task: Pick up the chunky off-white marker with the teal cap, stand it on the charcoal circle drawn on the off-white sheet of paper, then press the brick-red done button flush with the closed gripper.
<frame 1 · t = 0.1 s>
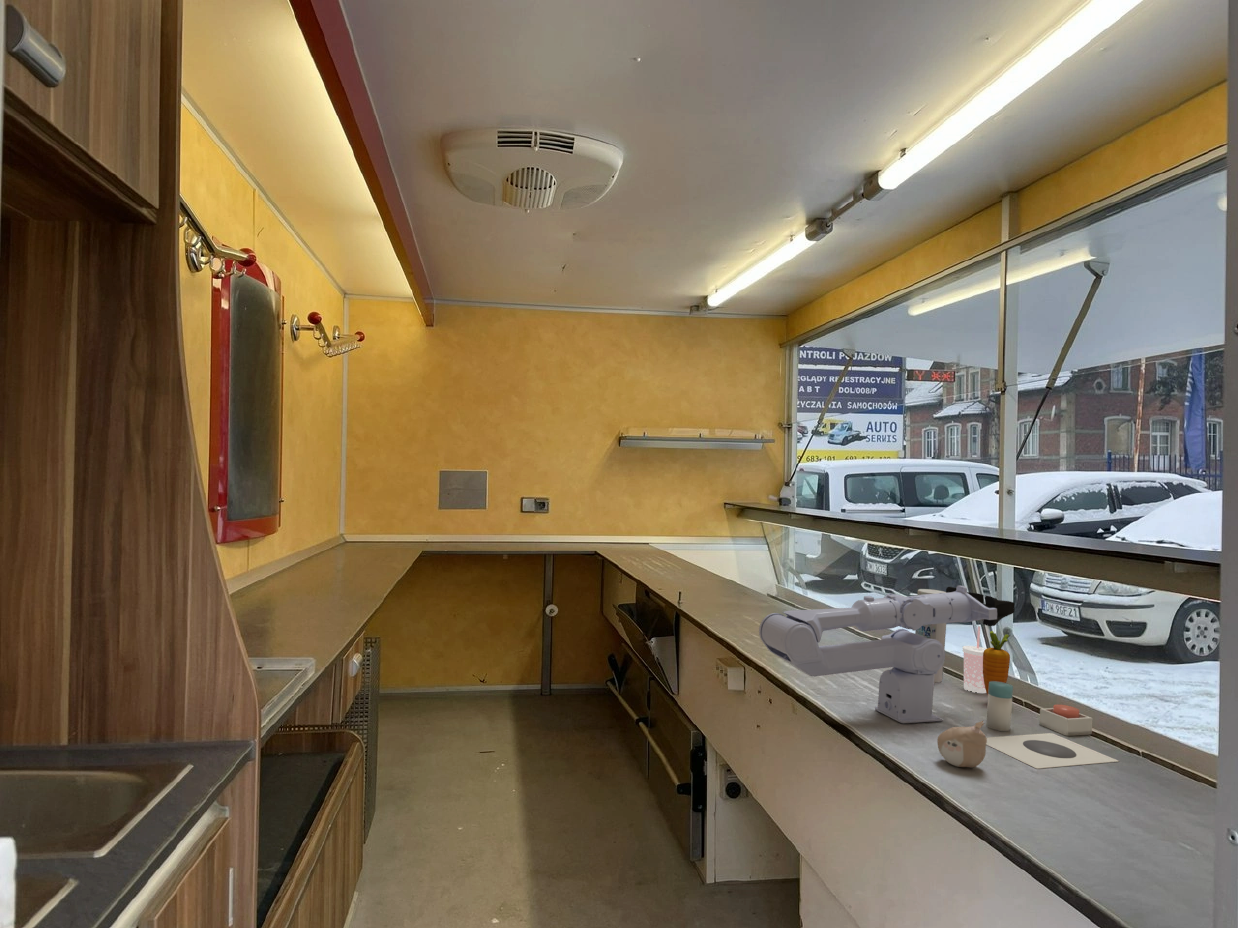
hand: (997, 603, 148), 22 cm above the worktop, tool horizontal, fingers open, 7 cm apart
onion: (960, 766, 119), on the worktop
spray can: (927, 679, 171), on the worktop
carrot: (993, 704, 154), on the worktop
done button: (1066, 713, 140), point 3 cm above the worktop, slide at 0.0 cm
marker: (998, 727, 139), on the worktop
beverage cup: (975, 690, 164), on the worktop
button housing: (1065, 729, 140), on the worktop
paper sheet: (1044, 749, 128), on the worktop
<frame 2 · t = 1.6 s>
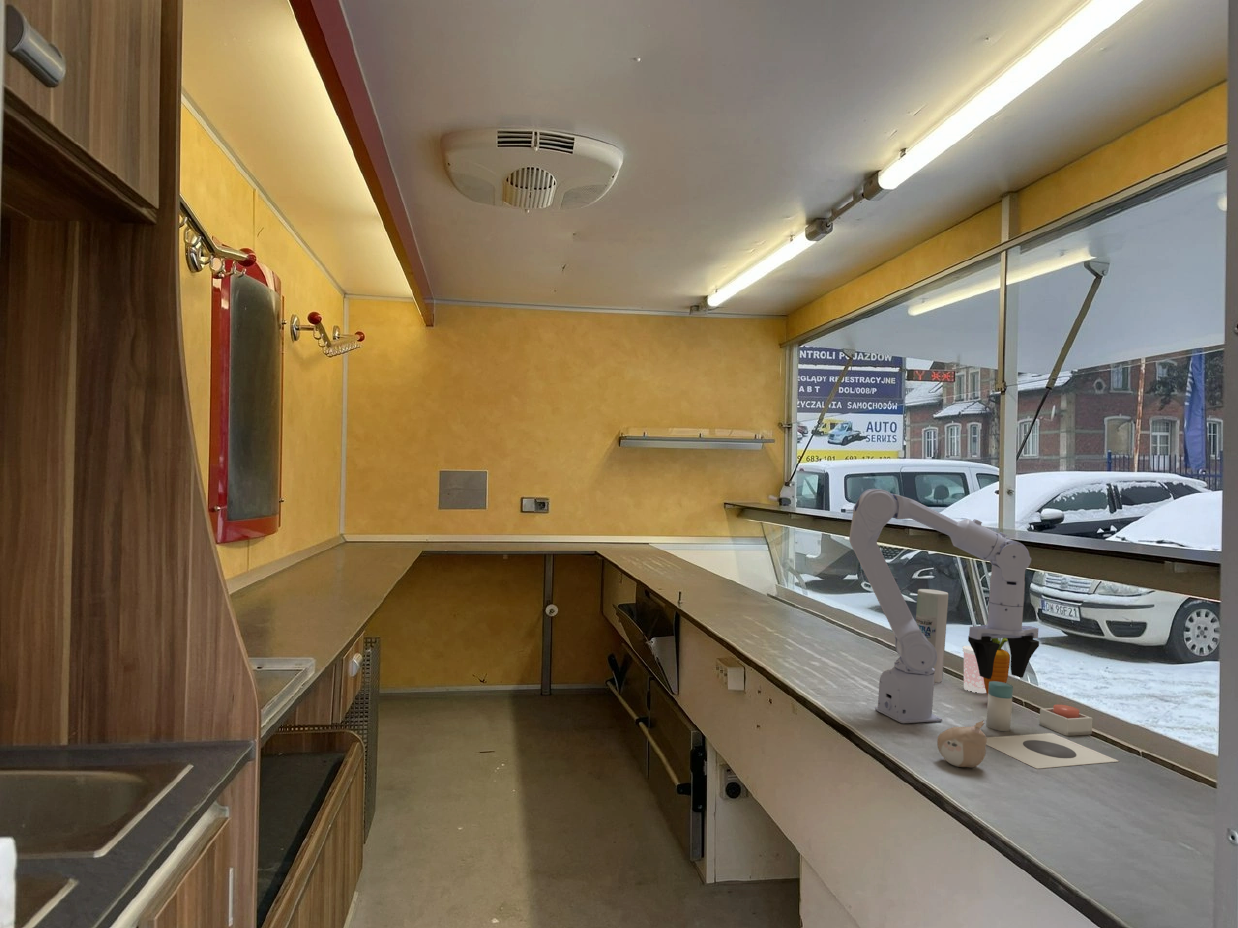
hand: (1001, 676, 139), 9 cm above the worktop, tool pointing down, fingers open, 7 cm apart
nothing on the worktop moved.
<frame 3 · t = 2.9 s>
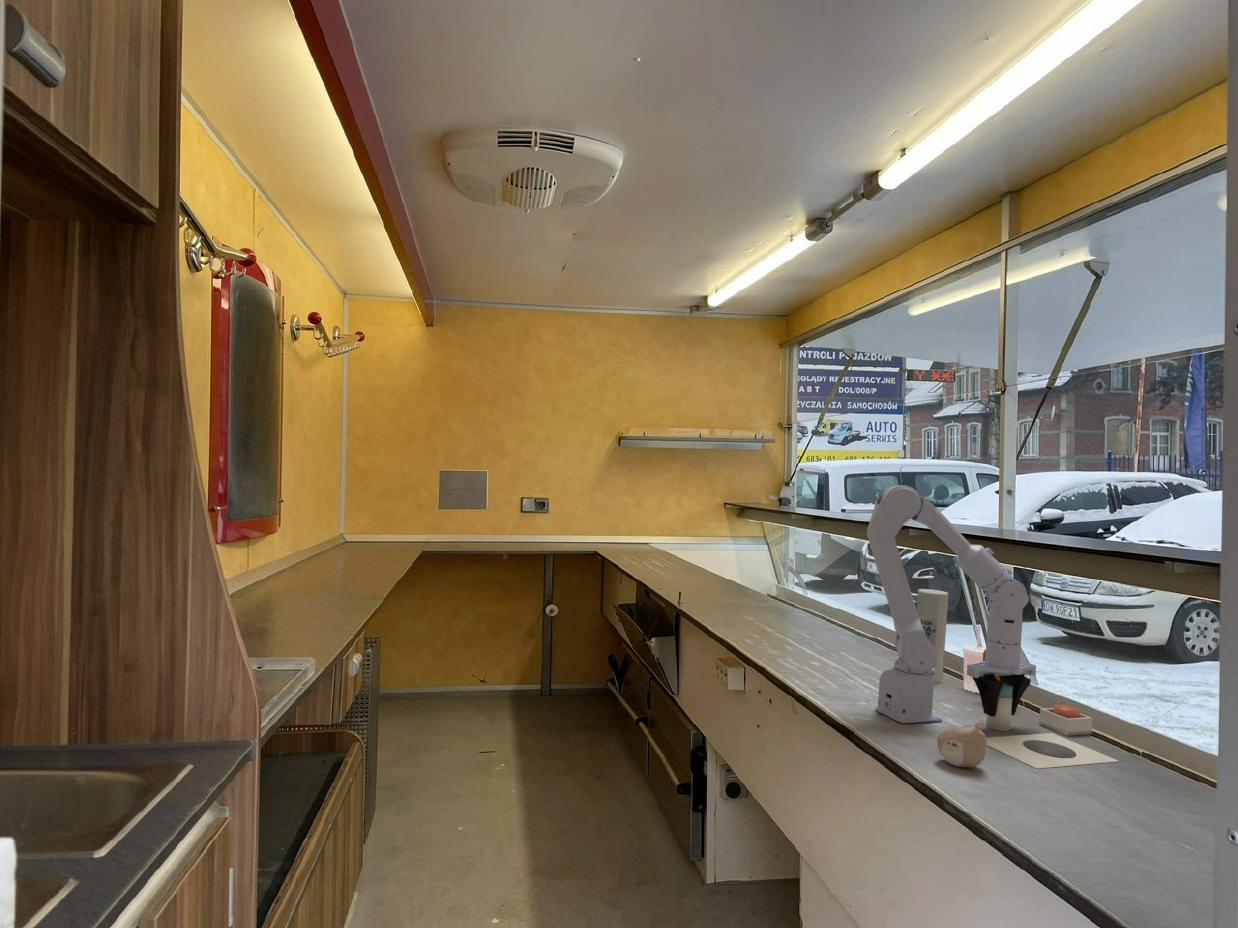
hand: (999, 714, 139), 2 cm above the worktop, tool pointing down, fingers closed on marker, 4 cm apart
marker: (998, 727, 139), on the worktop, touching gripper
everything else where it was.
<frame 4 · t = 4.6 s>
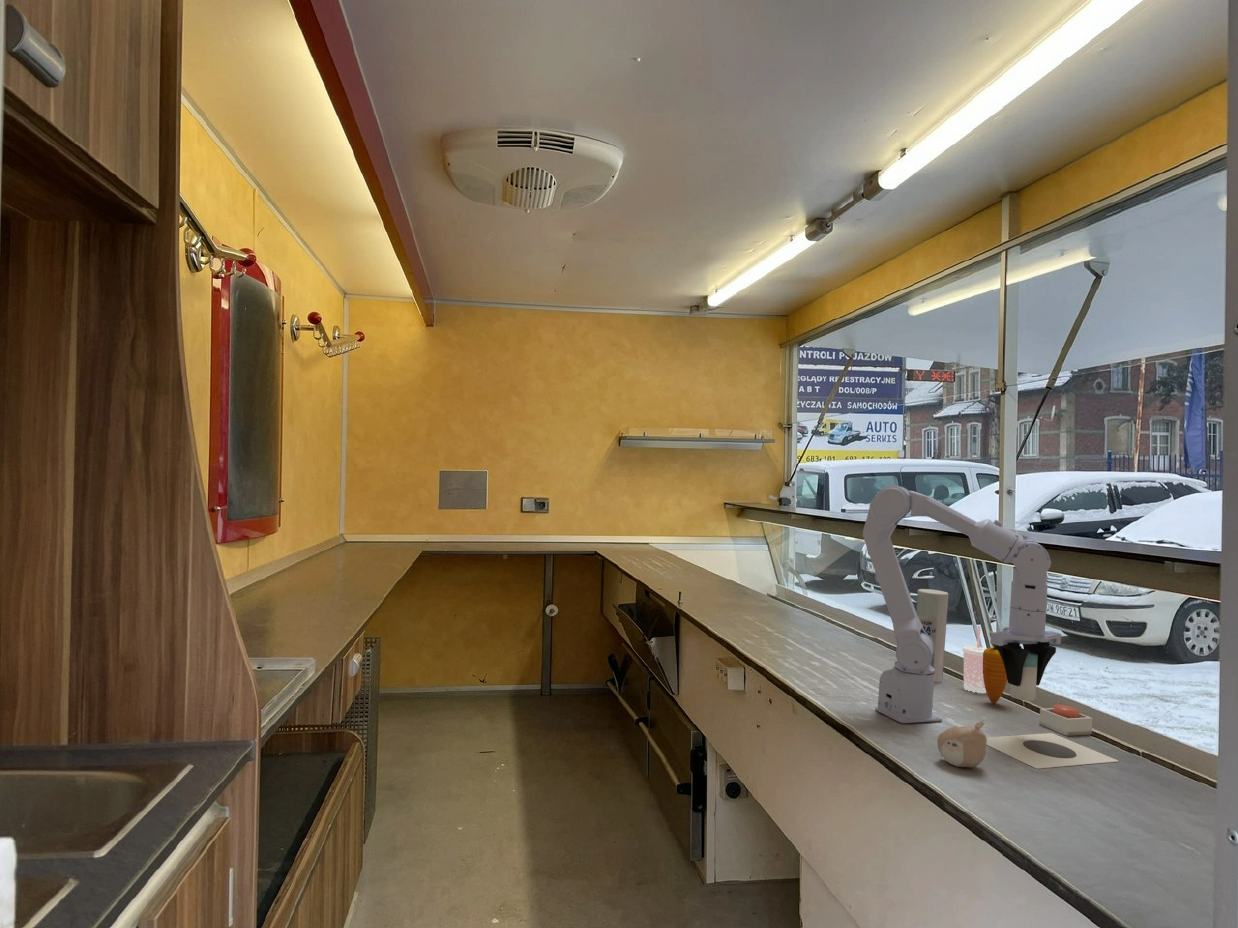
hand: (1023, 684, 134), 9 cm above the worktop, tool pointing down, fingers closed on marker, 4 cm apart
marker: (1022, 697, 134), point 7 cm above the worktop, touching gripper
everything else where it was.
when the fingers open (3 cm above the worktop, at t = 6.6 s): marker stays where it is, resting on paper sheet.
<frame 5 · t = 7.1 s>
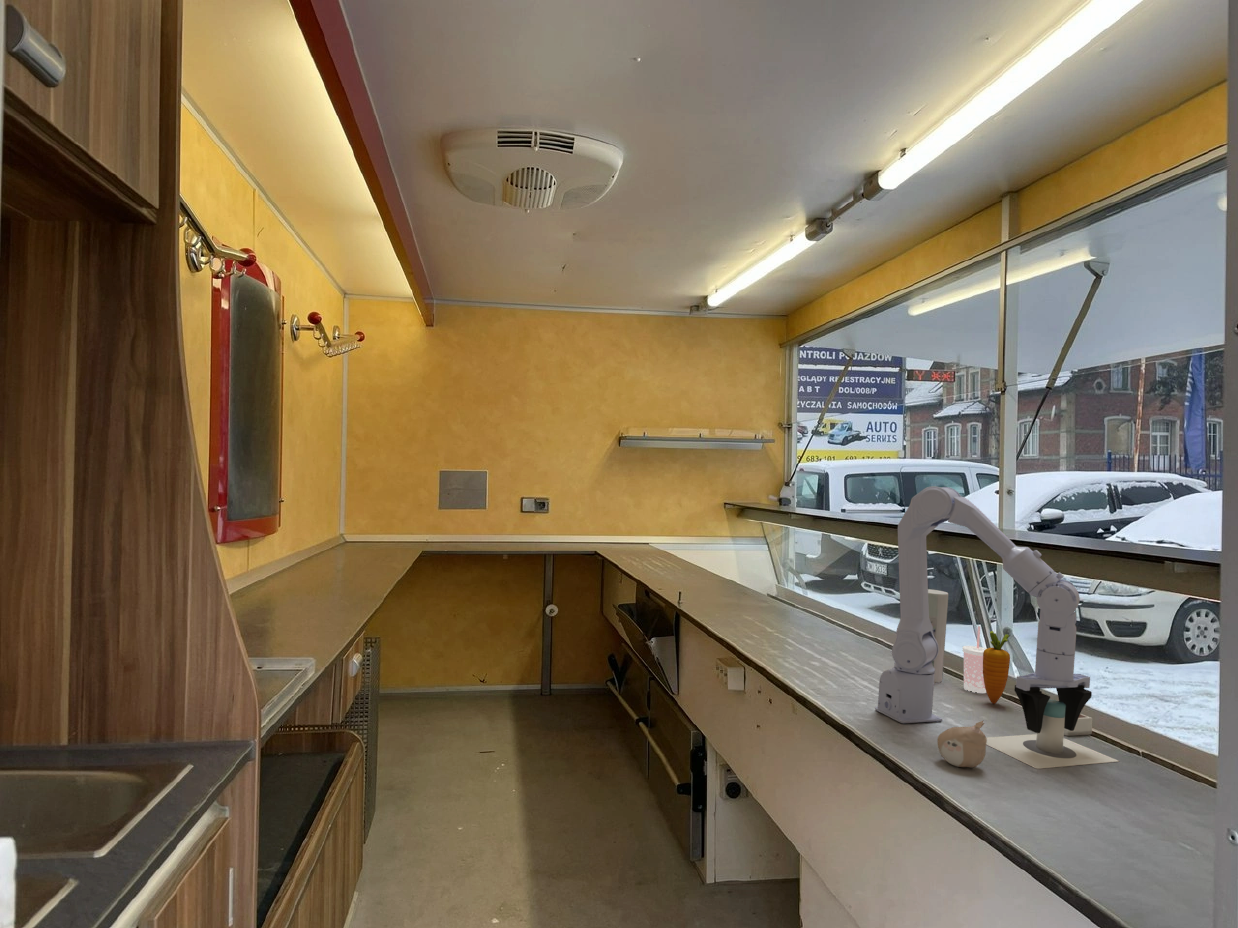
hand: (1050, 729, 129), 3 cm above the worktop, tool pointing down, fingers open, 7 cm apart
marker: (1049, 748, 129), resting on paper sheet
everything else where it was.
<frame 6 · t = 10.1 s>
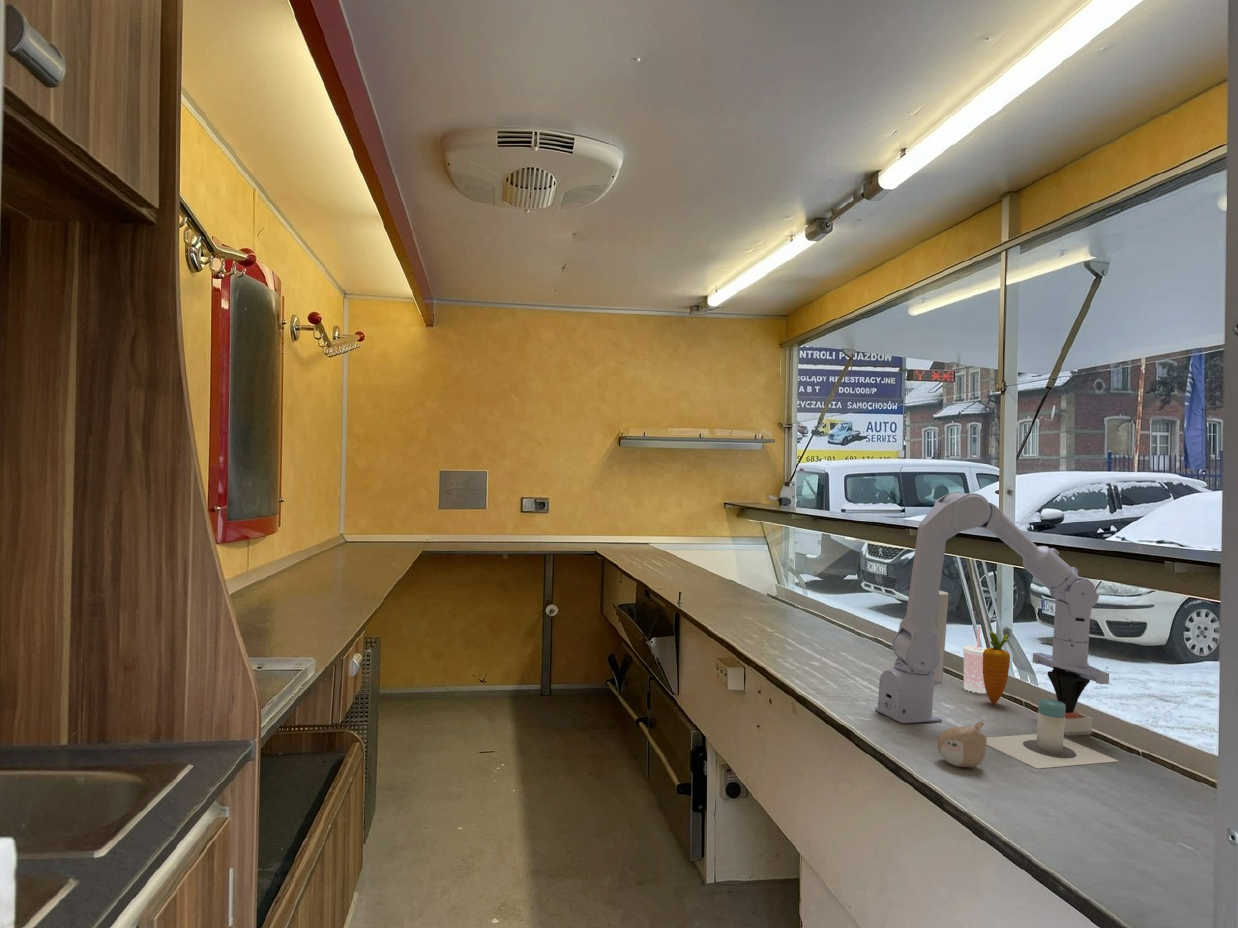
hand: (1066, 711, 140), 3 cm above the worktop, tool pointing down, fingers closed, pressing on done button
done button: (1065, 716, 140), point 2 cm above the worktop, slide at 0.6 cm, touching gripper
everything else where it was.
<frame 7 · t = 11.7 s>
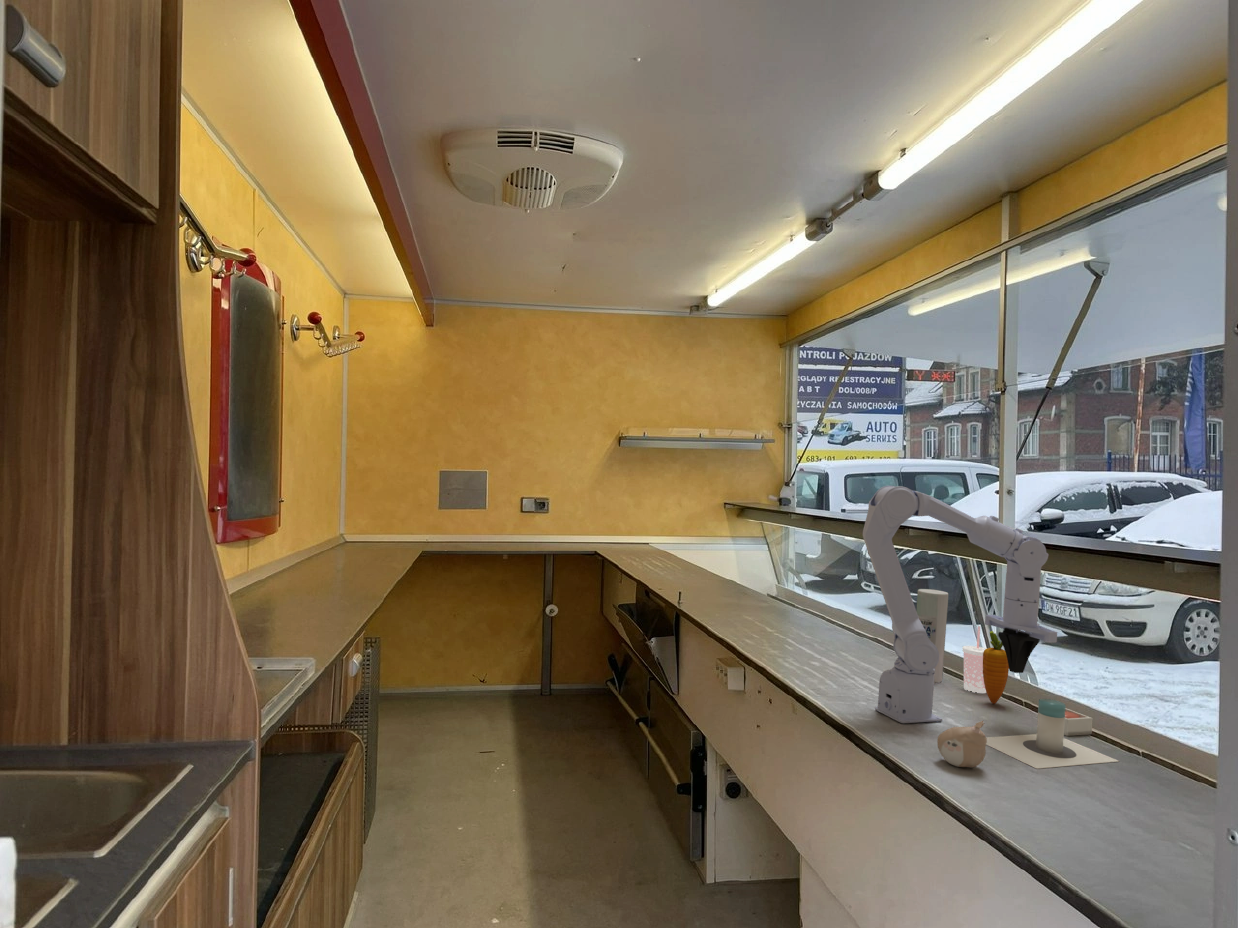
hand: (1016, 671, 140), 10 cm above the worktop, tool pointing down, fingers closed
done button: (1065, 719, 140), point 2 cm above the worktop, slide at 1.1 cm
everything else where it was.
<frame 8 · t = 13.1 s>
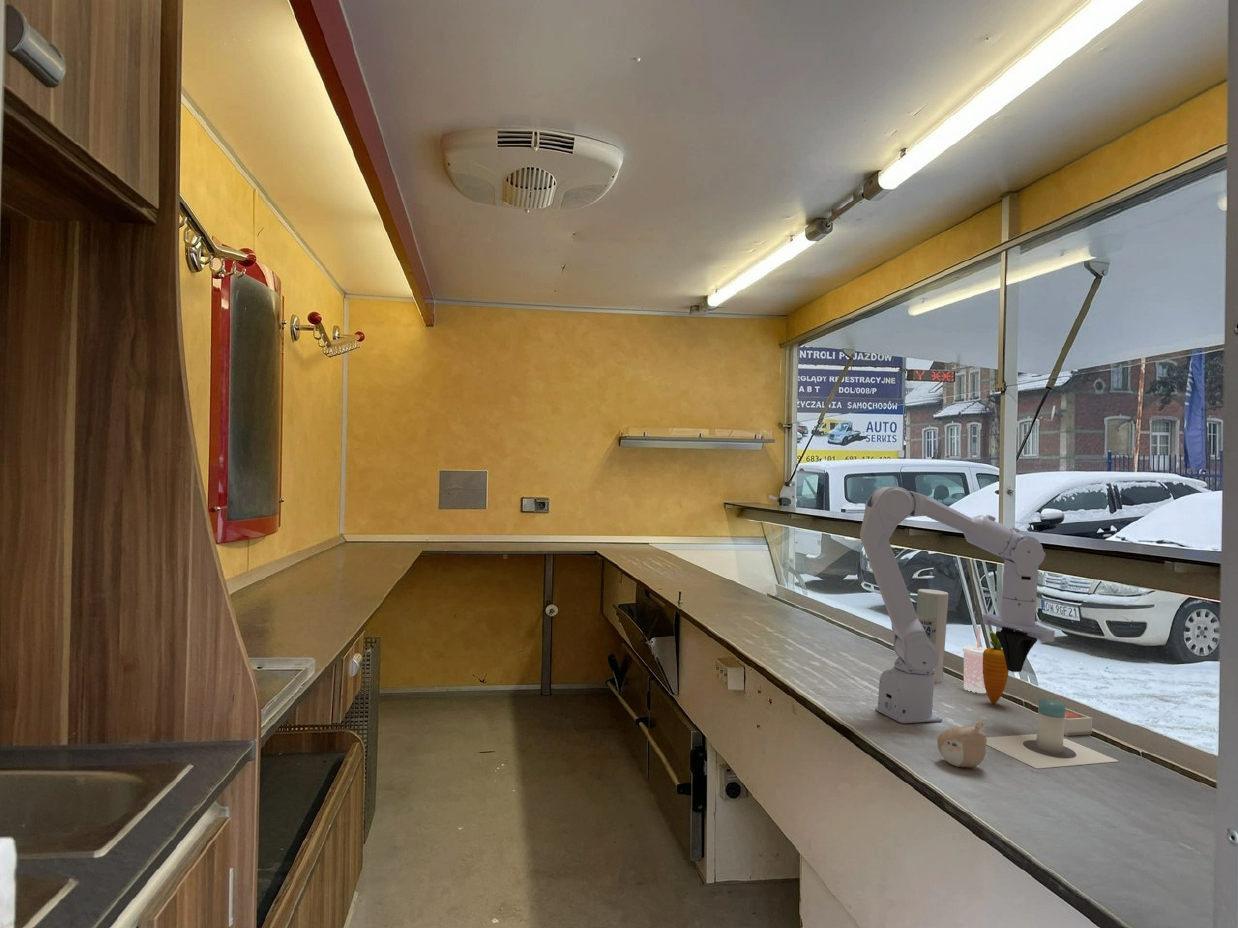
hand: (1014, 670, 140), 10 cm above the worktop, tool pointing down, fingers closed
nothing on the worktop moved.
at the end: marker 0.0 cm from the target spot on the paper sheet, point 0.2 cm above the paper sheet's base; marker tilted 0°; done button slide at 1.1 cm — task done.
